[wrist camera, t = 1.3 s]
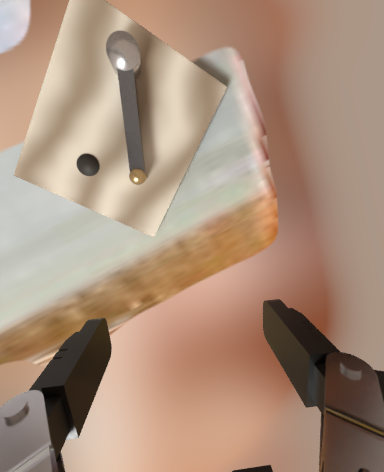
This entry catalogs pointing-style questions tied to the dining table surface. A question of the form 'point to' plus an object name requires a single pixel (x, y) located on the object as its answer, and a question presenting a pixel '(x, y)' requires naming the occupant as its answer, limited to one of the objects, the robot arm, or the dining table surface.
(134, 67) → the leg
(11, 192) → the dining table surface
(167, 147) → the hole board
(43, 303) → the dining table surface
